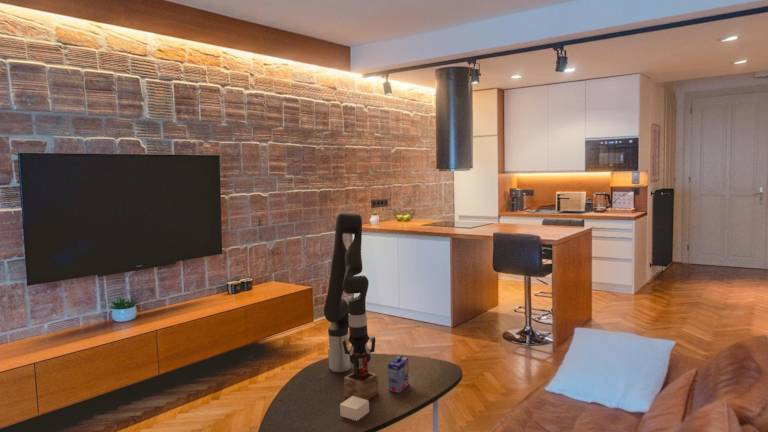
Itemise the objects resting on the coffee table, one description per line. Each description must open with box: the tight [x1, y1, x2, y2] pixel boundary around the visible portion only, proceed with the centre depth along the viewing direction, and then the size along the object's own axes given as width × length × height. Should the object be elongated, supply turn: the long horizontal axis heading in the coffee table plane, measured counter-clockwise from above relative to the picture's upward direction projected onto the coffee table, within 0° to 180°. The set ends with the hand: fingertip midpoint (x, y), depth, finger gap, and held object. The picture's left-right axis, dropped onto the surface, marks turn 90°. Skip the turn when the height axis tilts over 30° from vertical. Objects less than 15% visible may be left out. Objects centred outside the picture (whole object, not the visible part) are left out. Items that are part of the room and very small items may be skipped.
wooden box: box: [343, 371, 380, 400], centre depth 222 cm, size 10×10×8 cm
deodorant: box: [351, 339, 369, 376], centre depth 221 cm, size 6×6×15 cm
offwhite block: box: [339, 396, 370, 422], centre depth 207 cm, size 8×8×5 cm
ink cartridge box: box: [387, 354, 409, 394], centre depth 227 cm, size 10×6×14 cm, turn 152°
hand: (360, 362), depth 221 cm, fingers closed on deodorant, 6 cm apart
